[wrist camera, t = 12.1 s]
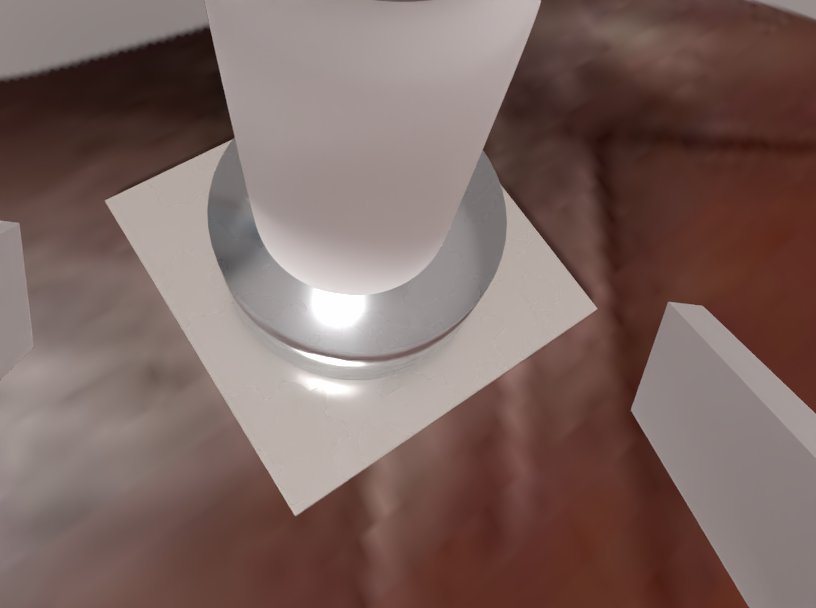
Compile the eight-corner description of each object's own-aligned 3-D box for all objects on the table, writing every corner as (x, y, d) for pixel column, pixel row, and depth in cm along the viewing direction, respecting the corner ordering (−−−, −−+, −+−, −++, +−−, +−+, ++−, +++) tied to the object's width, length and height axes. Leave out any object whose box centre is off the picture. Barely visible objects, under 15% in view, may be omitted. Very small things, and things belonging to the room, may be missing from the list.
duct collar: (110, 210, 25) (64, 141, 21) (400, 69, 29) (413, -13, 25) (295, 516, 23) (288, 513, 18) (589, 314, 26) (643, 271, 22)
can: (280, 109, 22) (234, -315, 11) (460, 149, 23) (593, -224, 11) (231, 278, 20) (111, -41, 9) (432, 319, 20) (562, 62, 9)
